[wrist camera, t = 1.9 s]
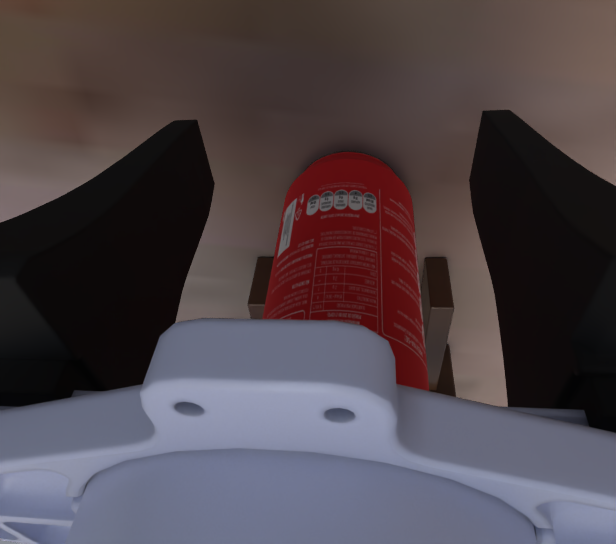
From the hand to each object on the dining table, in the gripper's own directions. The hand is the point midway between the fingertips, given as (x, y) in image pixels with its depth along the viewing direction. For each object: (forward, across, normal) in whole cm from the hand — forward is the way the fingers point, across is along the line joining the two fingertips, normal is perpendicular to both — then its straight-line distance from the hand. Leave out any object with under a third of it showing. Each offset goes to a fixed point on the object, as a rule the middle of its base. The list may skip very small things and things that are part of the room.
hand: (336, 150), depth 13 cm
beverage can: (+6, 0, +6) cm, 8 cm away
